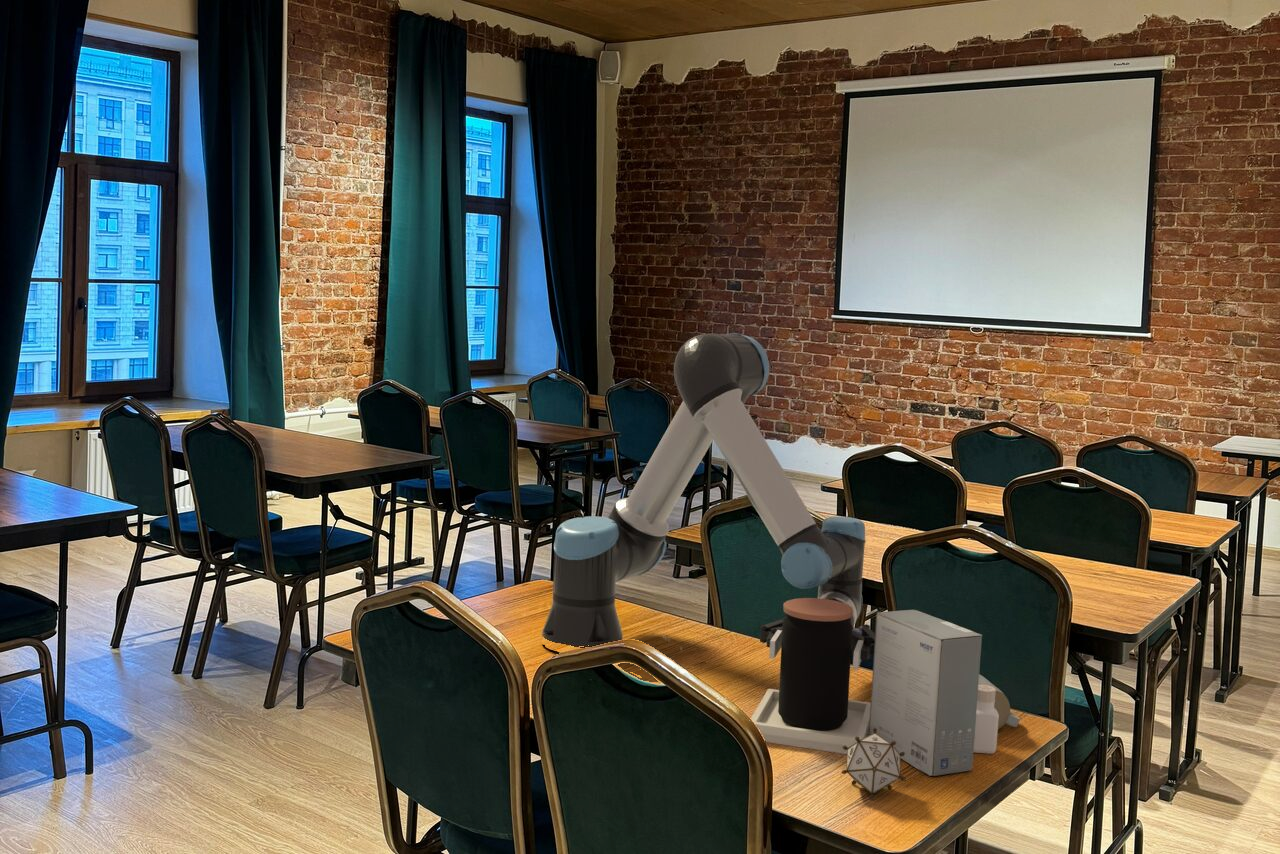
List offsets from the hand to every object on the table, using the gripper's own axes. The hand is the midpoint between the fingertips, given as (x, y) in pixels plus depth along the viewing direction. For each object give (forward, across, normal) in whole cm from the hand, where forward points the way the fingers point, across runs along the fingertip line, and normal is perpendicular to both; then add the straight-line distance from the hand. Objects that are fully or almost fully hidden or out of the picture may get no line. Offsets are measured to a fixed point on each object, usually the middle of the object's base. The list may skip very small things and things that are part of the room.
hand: (813, 655), depth 175 cm
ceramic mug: (-17, -26, -13) cm, 33 cm away
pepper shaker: (-5, -25, -13) cm, 29 cm away
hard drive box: (+1, -16, -13) cm, 21 cm away
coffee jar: (-4, 0, -12) cm, 12 cm away
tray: (-4, 0, -13) cm, 13 cm away
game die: (+17, -11, -13) cm, 24 cm away
